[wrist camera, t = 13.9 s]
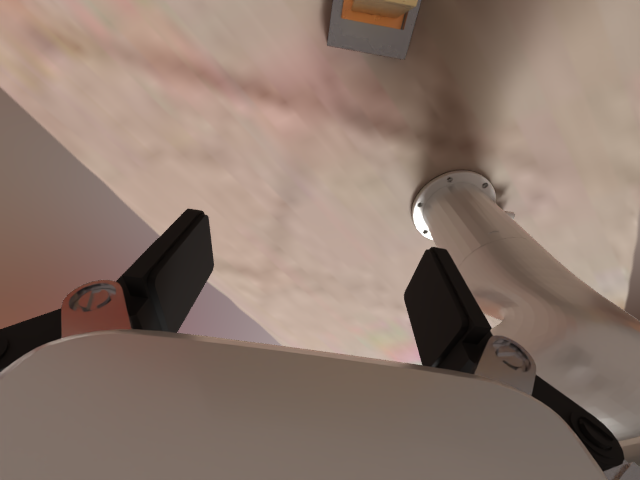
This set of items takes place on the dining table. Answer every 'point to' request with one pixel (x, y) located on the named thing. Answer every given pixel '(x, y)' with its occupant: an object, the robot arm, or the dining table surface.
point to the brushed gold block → (384, 7)
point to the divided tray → (370, 30)
